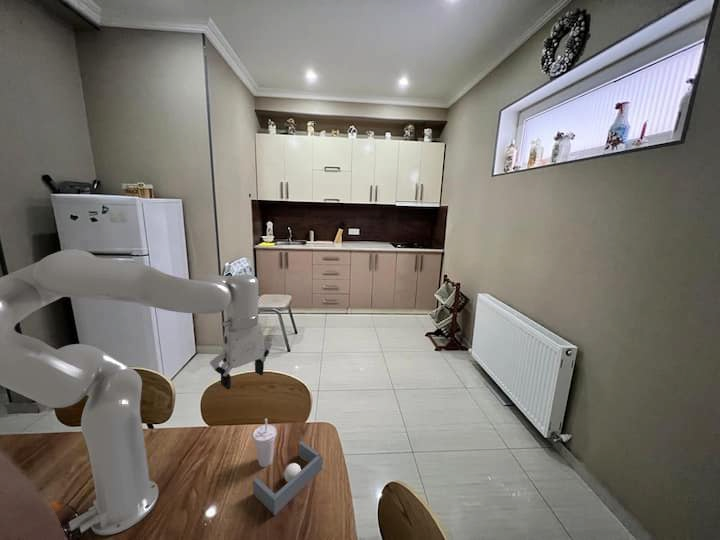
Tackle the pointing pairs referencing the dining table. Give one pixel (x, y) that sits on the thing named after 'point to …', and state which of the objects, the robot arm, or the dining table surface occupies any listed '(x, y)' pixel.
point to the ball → (291, 471)
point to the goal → (294, 485)
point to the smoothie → (264, 443)
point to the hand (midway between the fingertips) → (243, 380)
